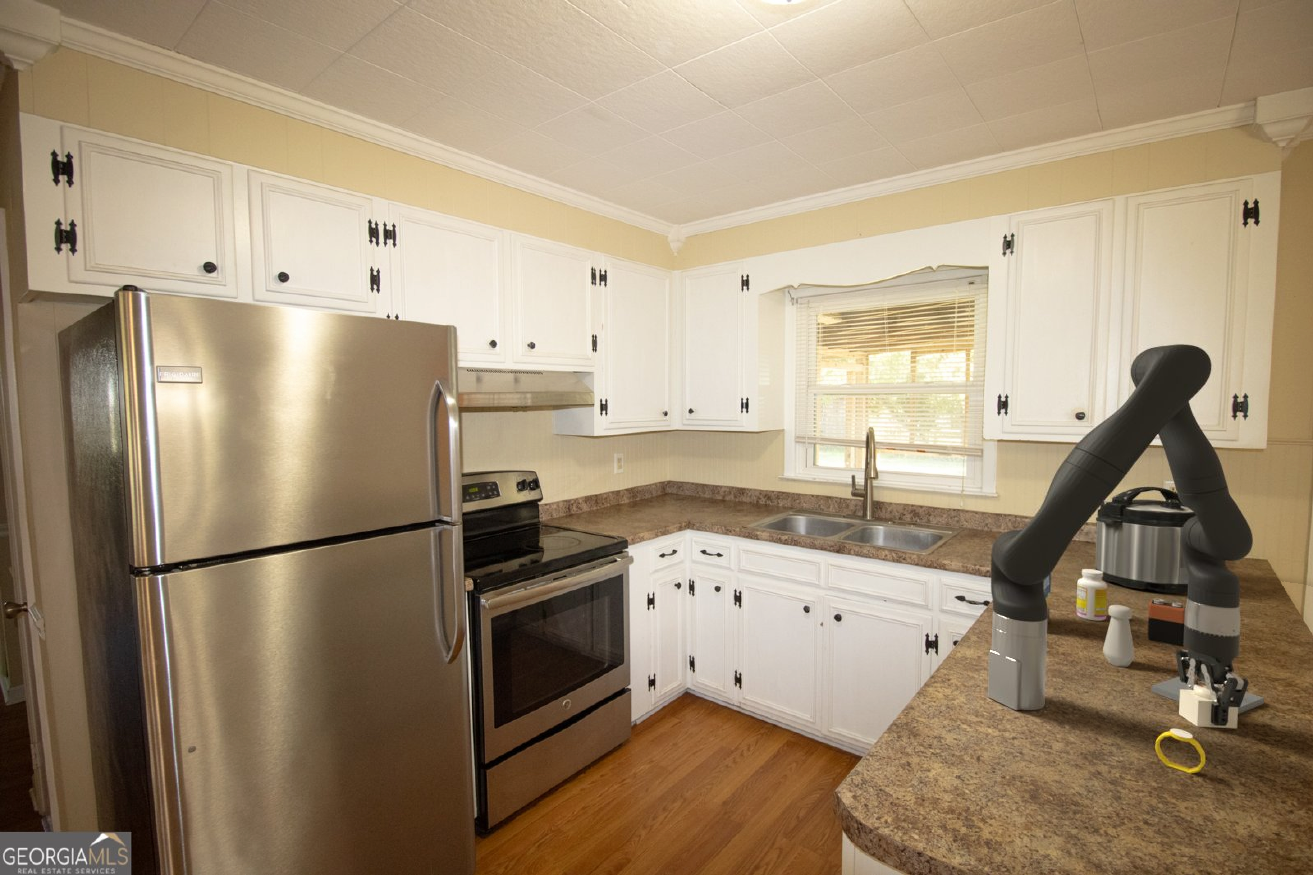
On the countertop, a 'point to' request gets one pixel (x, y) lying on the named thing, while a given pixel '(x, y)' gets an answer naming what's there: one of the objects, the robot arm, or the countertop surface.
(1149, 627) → the battery
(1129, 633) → the salt shaker
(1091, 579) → the supplement bottle
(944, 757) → the countertop surface
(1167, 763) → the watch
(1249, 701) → the plate
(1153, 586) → the pressure cooker
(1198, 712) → the knob
